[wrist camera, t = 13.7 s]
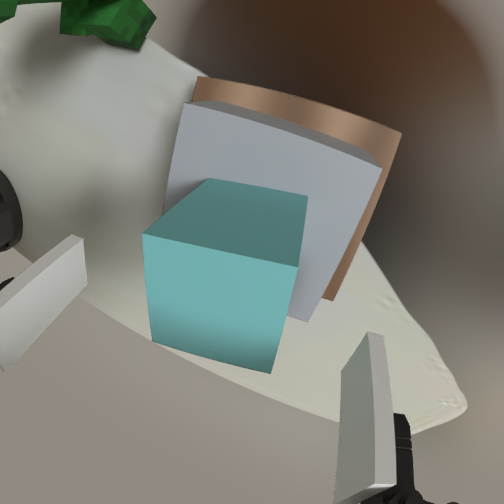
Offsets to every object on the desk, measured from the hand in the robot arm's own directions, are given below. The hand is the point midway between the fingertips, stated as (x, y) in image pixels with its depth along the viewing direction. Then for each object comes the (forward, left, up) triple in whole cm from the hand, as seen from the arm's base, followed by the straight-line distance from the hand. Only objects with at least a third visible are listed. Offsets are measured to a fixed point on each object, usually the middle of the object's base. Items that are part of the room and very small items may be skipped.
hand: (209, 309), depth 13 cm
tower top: (0, +1, -14) cm, 14 cm away
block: (0, 0, -8) cm, 8 cm away
